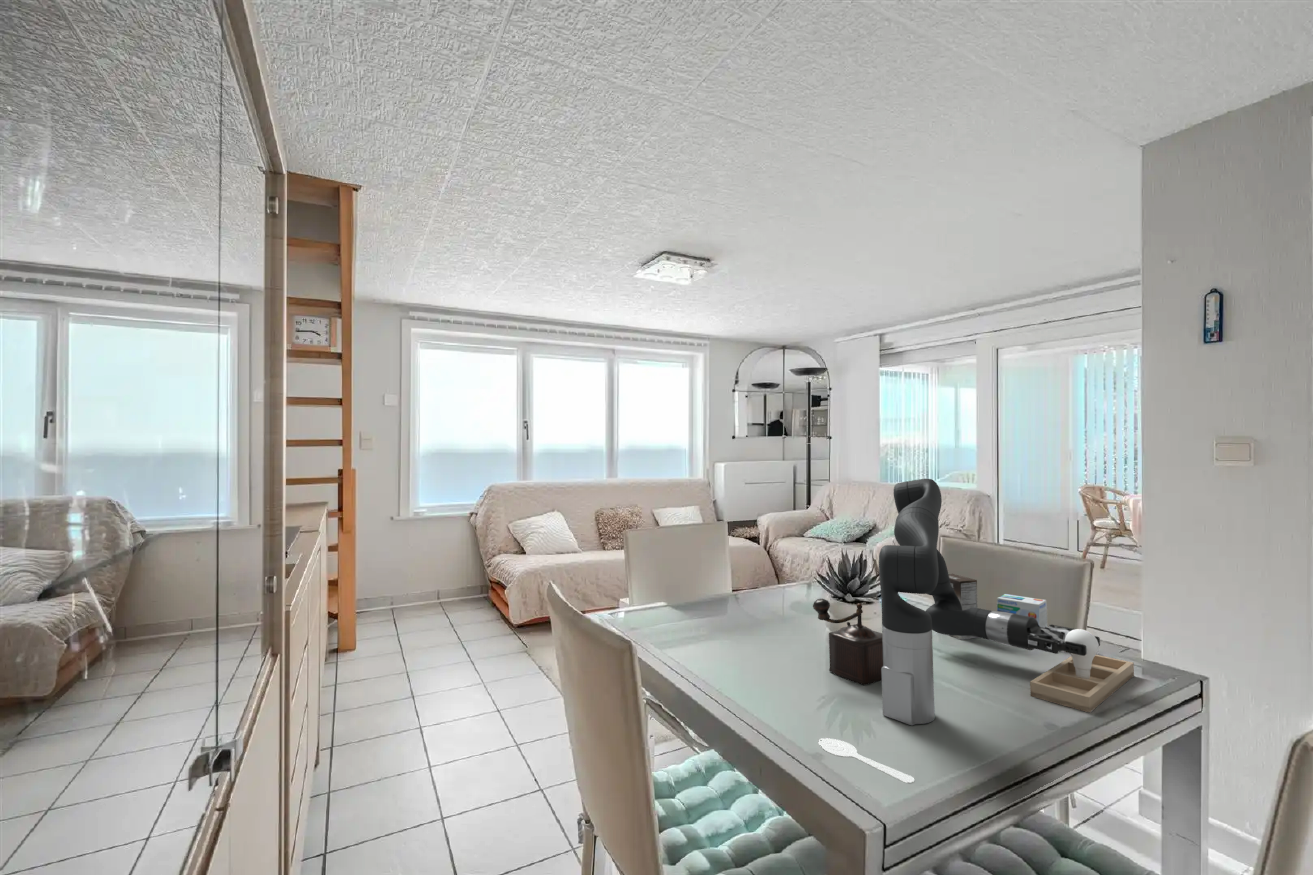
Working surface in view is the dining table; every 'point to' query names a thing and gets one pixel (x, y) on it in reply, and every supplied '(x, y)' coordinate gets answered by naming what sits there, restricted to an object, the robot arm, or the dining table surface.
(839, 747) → the spoon
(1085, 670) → the lightbulb
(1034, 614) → the light bulb box
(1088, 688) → the wooden compartment tray
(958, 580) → the cookie box
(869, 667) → the manual coffee grinder
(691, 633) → the dining table surface
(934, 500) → the robot arm
